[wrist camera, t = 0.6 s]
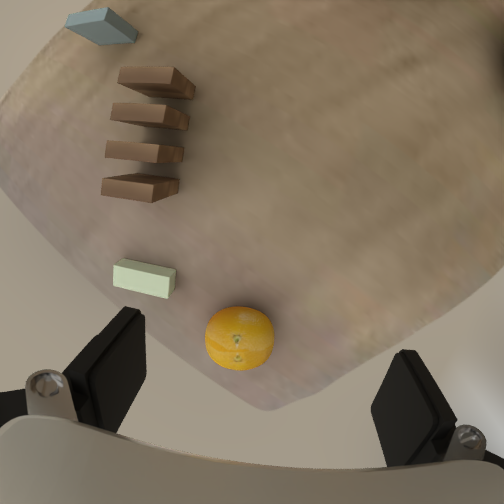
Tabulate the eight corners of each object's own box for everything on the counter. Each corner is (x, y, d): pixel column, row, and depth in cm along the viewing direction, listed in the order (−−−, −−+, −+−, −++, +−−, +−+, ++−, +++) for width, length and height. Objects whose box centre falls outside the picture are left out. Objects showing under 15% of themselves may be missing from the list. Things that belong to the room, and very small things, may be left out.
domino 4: (140, 142, 37) (106, 140, 28) (184, 147, 37) (159, 144, 28) (138, 156, 37) (104, 157, 29) (182, 161, 37) (156, 163, 29)
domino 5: (136, 173, 38) (102, 178, 29) (179, 179, 38) (153, 185, 29) (135, 186, 38) (100, 195, 30) (177, 193, 38) (151, 202, 30)
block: (123, 258, 41) (113, 265, 38) (176, 269, 41) (169, 277, 38) (122, 277, 42) (113, 285, 39) (174, 289, 42) (167, 298, 39)
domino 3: (145, 113, 36) (113, 102, 27) (189, 116, 35) (166, 105, 27) (143, 126, 36) (110, 119, 27) (187, 130, 36) (162, 122, 27)
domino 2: (151, 84, 34) (120, 67, 26) (195, 86, 34) (174, 67, 26) (149, 96, 35) (117, 82, 26) (193, 99, 35) (170, 83, 26)
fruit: (270, 293, 41) (269, 323, 34) (277, 344, 43) (277, 379, 36) (205, 300, 42) (192, 329, 35) (217, 349, 44) (207, 383, 37)
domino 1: (102, 34, 32) (68, 14, 24) (138, 31, 32) (108, 7, 23) (99, 45, 33) (64, 26, 24) (135, 42, 33) (104, 20, 24)
